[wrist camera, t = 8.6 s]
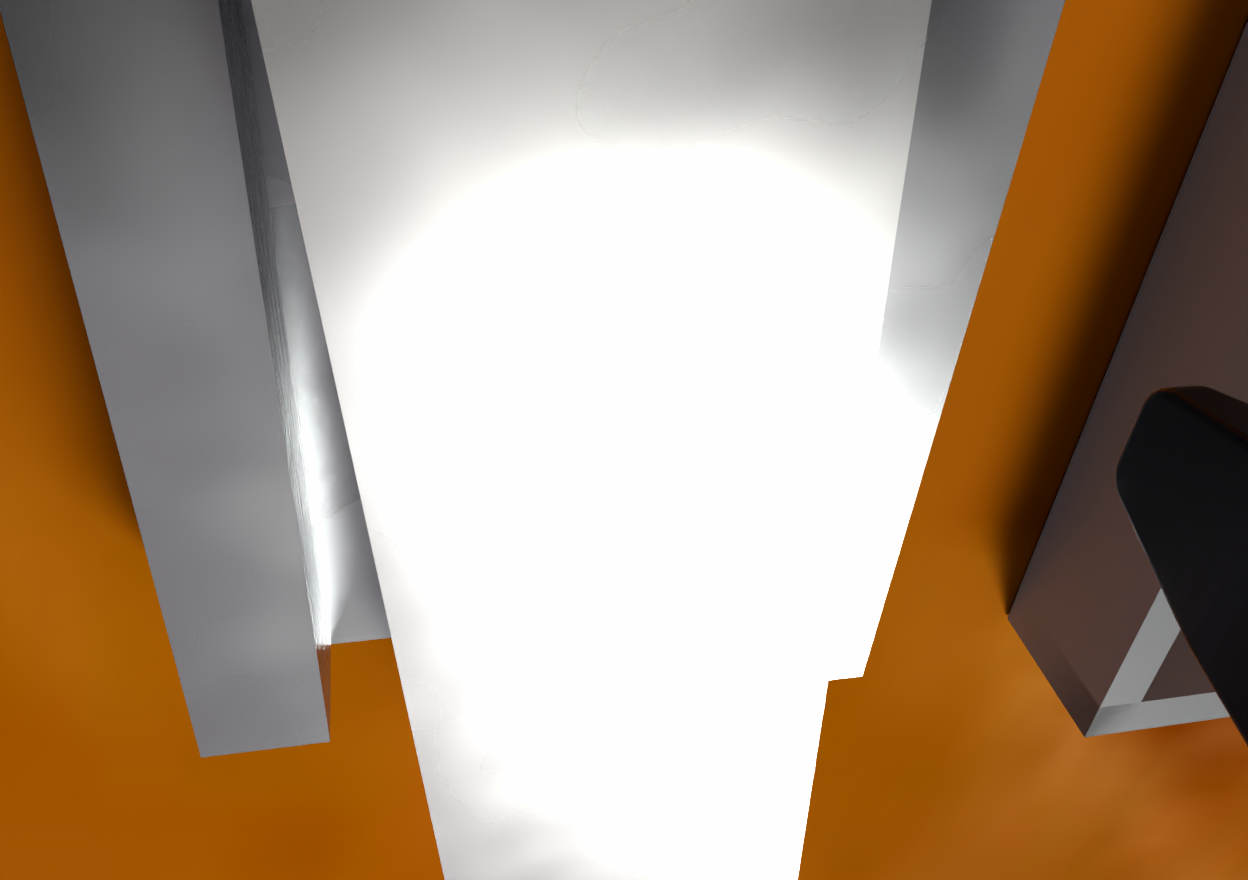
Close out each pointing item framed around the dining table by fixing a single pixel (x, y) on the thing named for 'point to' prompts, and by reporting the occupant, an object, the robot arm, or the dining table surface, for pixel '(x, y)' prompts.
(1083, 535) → the case
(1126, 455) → the robot arm
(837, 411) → the white square bar
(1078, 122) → the dining table surface
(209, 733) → the stay bracket
